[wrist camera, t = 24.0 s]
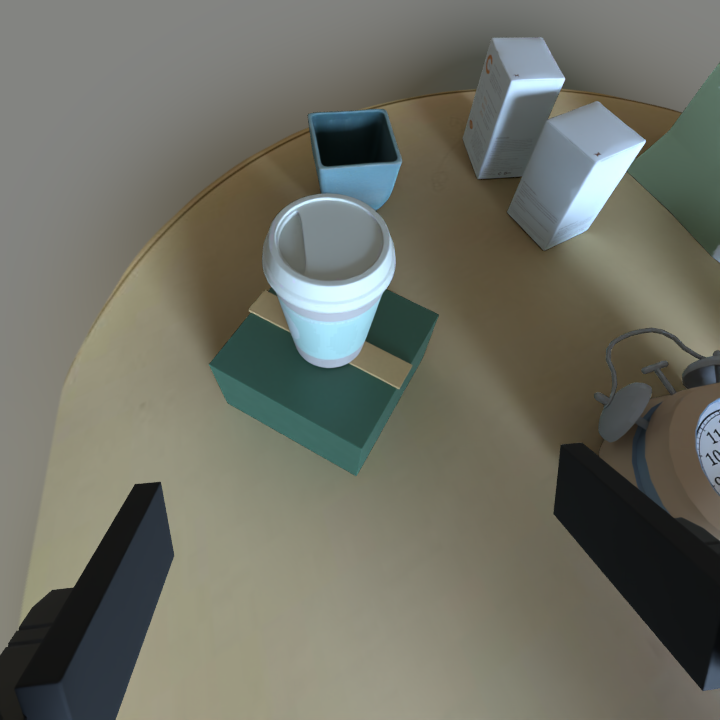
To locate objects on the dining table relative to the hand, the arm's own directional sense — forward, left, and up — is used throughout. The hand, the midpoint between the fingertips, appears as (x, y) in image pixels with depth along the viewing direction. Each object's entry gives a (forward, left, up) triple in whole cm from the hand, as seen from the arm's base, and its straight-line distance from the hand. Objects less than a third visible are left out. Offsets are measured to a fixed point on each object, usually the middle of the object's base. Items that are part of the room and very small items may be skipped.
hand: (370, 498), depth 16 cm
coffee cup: (-10, +14, -18) cm, 25 cm away
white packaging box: (+2, +46, -27) cm, 53 cm away
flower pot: (-20, +36, -27) cm, 49 cm away
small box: (-8, +53, -27) cm, 60 cm away
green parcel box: (-10, +14, -27) cm, 32 cm away
